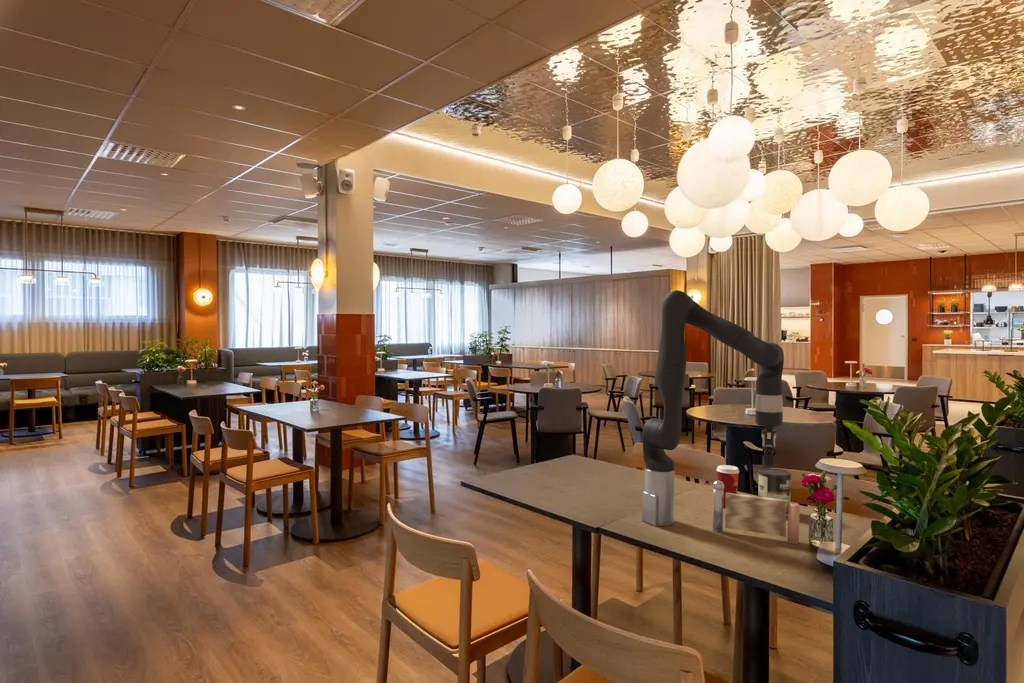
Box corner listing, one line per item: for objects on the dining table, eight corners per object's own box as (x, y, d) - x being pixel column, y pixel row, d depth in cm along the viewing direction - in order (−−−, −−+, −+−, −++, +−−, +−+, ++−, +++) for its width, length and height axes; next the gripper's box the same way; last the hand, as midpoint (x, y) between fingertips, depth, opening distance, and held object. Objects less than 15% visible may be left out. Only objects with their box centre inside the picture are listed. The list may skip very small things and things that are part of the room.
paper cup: (740, 510, 194) (741, 470, 194) (717, 509, 195) (718, 469, 195) (736, 503, 202) (737, 465, 201) (714, 502, 203) (714, 463, 203)
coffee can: (796, 513, 191) (797, 472, 191) (780, 519, 185) (781, 477, 185) (767, 505, 200) (768, 466, 199) (751, 510, 194) (752, 470, 193)
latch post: (794, 544, 163) (795, 507, 163) (785, 541, 166) (786, 504, 165) (801, 542, 165) (801, 505, 164) (791, 539, 167) (792, 503, 167)
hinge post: (718, 533, 172) (719, 482, 171) (709, 529, 175) (710, 479, 174) (725, 531, 173) (726, 481, 173) (716, 528, 176) (717, 478, 176)
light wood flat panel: (725, 528, 172) (725, 494, 172) (725, 526, 174) (726, 492, 174) (785, 537, 165) (786, 501, 165) (785, 534, 167) (786, 499, 167)
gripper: (783, 413, 161) (783, 469, 161) (782, 406, 174) (782, 458, 174) (754, 412, 164) (754, 467, 164) (755, 405, 177) (755, 456, 177)
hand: (768, 462), depth 169 cm, fingers open, 8 cm apart
